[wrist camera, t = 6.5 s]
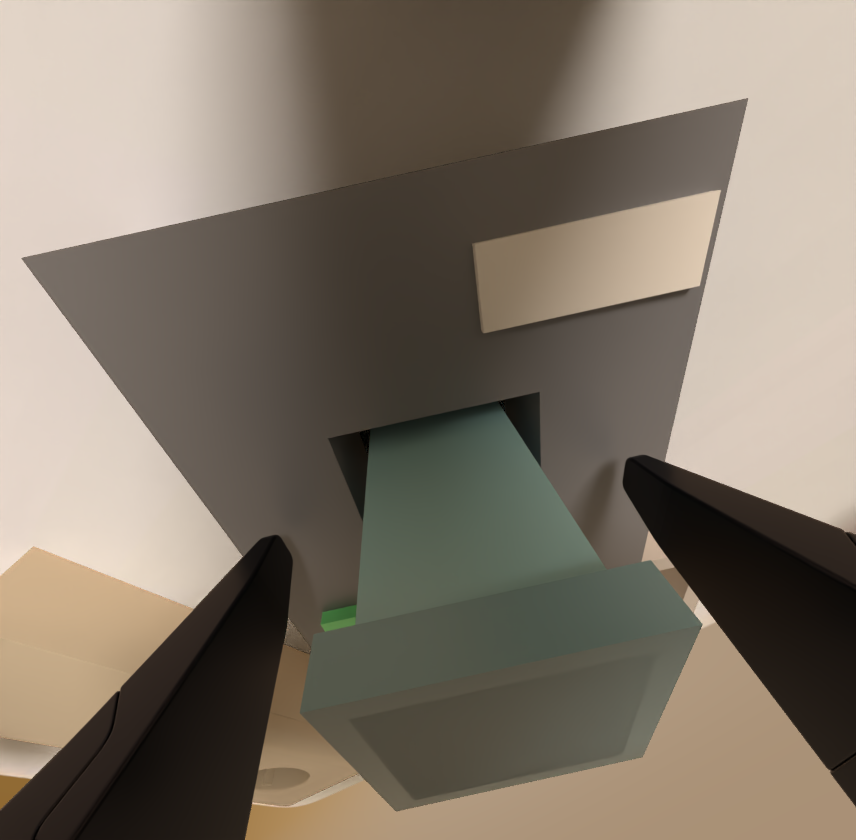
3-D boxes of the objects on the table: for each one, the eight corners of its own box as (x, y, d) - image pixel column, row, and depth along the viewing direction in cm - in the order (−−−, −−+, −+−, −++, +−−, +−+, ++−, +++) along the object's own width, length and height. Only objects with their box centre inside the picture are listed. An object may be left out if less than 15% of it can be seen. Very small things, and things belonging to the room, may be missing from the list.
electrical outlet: (-92, 659, 9) (379, 767, 17) (43, 537, 12) (381, 674, 20) (-174, 752, 11) (288, 810, 19) (-35, 622, 14) (303, 718, 22)
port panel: (629, 140, 8) (772, 88, 5) (591, 532, 15) (640, 605, 12) (140, 249, 8) (-4, 260, 5) (333, 588, 15) (320, 675, 12)
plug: (493, 363, 10) (703, 625, 4) (502, 469, 13) (642, 757, 6) (356, 392, 10) (299, 713, 4) (390, 494, 13) (396, 811, 6)
